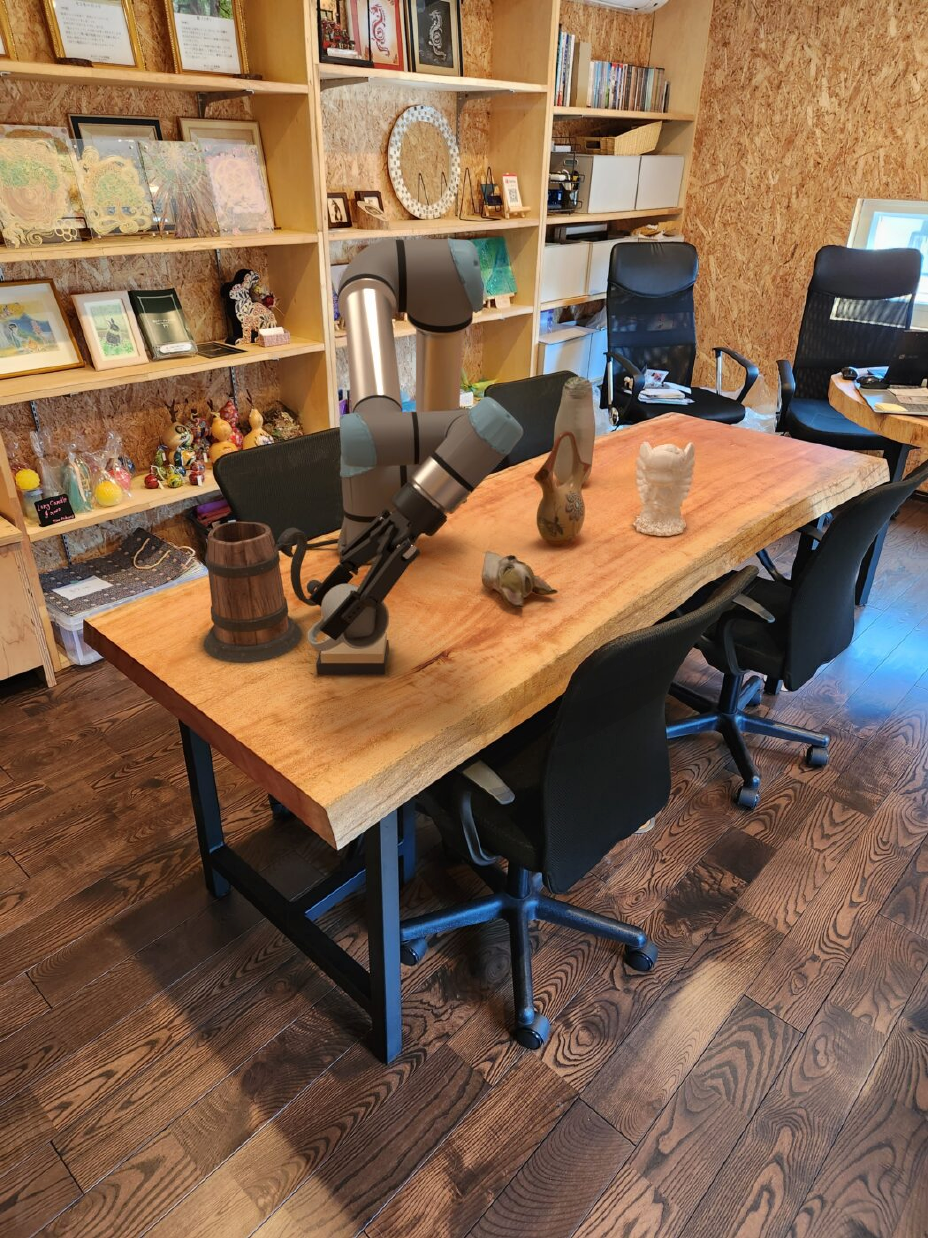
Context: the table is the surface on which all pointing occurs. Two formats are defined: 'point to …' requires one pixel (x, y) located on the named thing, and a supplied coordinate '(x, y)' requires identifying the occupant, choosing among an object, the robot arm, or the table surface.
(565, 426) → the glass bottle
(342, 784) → the table surface
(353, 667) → the stone
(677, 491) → the cherub figurine
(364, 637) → the ceramic mug
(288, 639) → the tankard
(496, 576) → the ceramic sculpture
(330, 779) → the table surface
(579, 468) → the ceramic vessel
